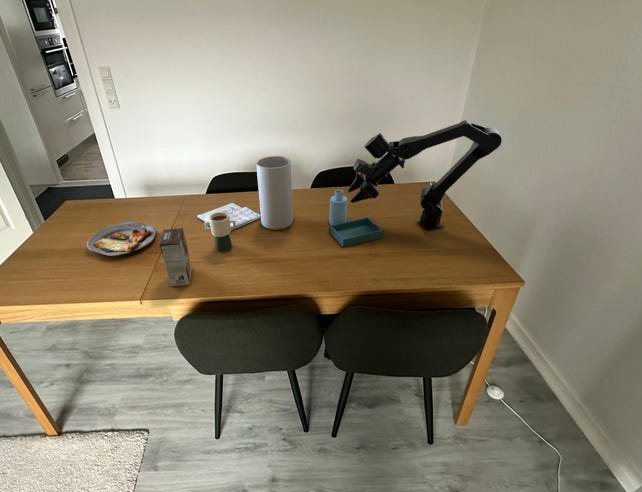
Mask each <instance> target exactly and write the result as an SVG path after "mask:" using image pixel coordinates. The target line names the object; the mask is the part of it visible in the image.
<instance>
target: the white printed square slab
mask: <svg viewBox="0 0 642 492" xmlns="http://www.w3.org/2000/svg"><path fill="white" fill-rule="evenodd" d="M217 212H225V213H228V214H229V218H230V220H235V222H236V228H235V229H231V231H233V230H236V229H238V228H241V227H243V226H246V225H248V224H250V223H252V222H254V221H258V220H259V219H261V214H259V213H257V212H255V211H254V210H252V209H250V208H249V207H248V206H243V207H241V206H239V205H237V204H235V203H234V202H230V203H228V204H226V205H223V206H220V207H218V208H215V209H212V210H210V211H206V212H204V213H201V214H198V215H197V218H198V219H200V220H202V221H203V222H204V223H205V222H208V221H209V217H210V215H212V214H214V213H217ZM230 225H231V226H233V223H230ZM208 226H210V224H208Z"/></svg>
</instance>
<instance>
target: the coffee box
mask: <svg viewBox="0 0 642 492" xmlns="http://www.w3.org/2000/svg"><path fill="white" fill-rule="evenodd" d="M158 245H159V249H160V253H161V256H162V259H163V264H164V268H165V271H166V274H167V278H168V282H169V286H170V287H178V286H190V284H191V277H192V271H193V267H192V263H191V258H190V254H189V249H188V245H187V241H186V236H185V231H184V227H180V228H179V227H178V228H165V229H162V232H161V236H160V240H159V244H158Z"/></svg>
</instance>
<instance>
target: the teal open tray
mask: <svg viewBox="0 0 642 492" xmlns="http://www.w3.org/2000/svg"><path fill="white" fill-rule="evenodd" d="M328 231H329V232H328V233H329V234H330V236H332V237H333V238H334V239H335V240H336V241H337V242H338V244H340V245H341V247H343V248H344V247H348V246H352V245H357V244H361V243H366V242H370V241H373V240H377V239H381V238H384V237H383V236H384V229H382V228H381V227H380V226H379V225H378V224H377V223H375V222H374V221H373V220H372V219H371V218H369V217H368V216H367V217H362V218H356V219H353V220H348V221H346V222H344V223H339V224H335V225H331V224H330V225H329V229H328Z"/></svg>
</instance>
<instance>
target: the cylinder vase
mask: <svg viewBox="0 0 642 492" xmlns="http://www.w3.org/2000/svg"><path fill="white" fill-rule="evenodd" d="M255 163H256V176H257V186H258V187H257V188H258V198H259V211H260V212H259V213H260V215H261V216H260V221H261V222H260V223H261V225H262V226H263V227H264V228H265V229H268V230H272V231H273V230H275V231H277V230H284V229H287V228H289V227H290V226H291V225H292V224H293V221H294V220H293V219H294V218H293V185H292V184H293V183H292V160H291V159H290V158H289V157H286V156H280V155H270V156H265V157H262V158H260V159H258V160H257V161H256V162H255Z"/></svg>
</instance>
